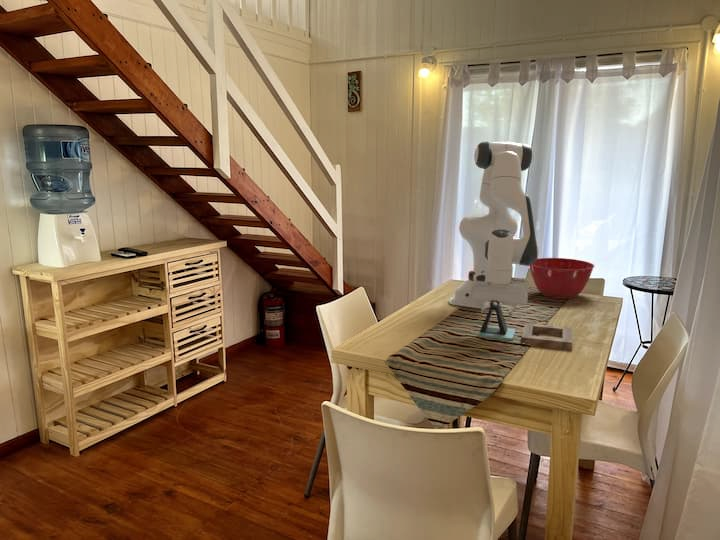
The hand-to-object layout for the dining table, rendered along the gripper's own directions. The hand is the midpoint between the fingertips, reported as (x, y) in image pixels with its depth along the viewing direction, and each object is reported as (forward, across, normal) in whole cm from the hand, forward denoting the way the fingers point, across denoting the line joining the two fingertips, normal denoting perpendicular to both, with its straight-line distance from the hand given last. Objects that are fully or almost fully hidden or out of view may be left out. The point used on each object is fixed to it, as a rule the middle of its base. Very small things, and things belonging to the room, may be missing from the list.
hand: (497, 314), depth 194 cm
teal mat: (+7, 0, 0) cm, 7 cm away
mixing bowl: (+8, -20, -70) cm, 73 cm away
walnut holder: (+7, -17, 0) cm, 19 cm away
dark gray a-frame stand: (+7, +1, 0) cm, 7 cm away
